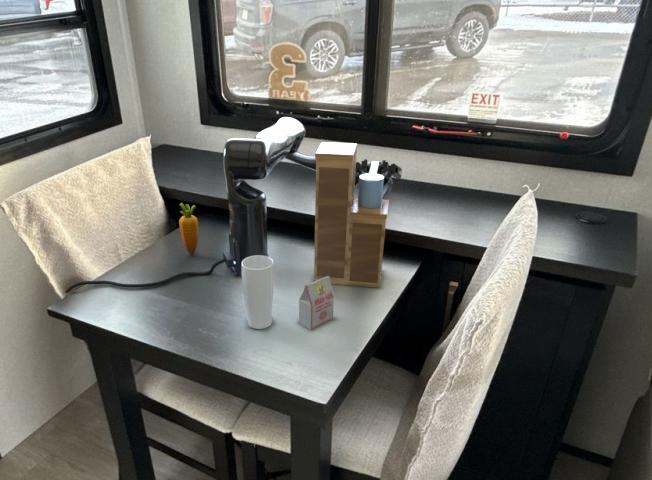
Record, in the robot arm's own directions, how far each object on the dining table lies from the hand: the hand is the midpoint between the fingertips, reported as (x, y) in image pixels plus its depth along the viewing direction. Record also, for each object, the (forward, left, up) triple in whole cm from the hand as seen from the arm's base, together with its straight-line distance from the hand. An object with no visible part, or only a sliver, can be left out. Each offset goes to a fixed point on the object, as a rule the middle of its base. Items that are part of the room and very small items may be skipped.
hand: (374, 163), depth 133 cm
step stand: (-9, -8, -26) cm, 28 cm away
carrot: (-44, +18, -26) cm, 54 cm away
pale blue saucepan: (-2, -3, -7) cm, 8 cm away
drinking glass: (-36, -21, -26) cm, 49 cm away
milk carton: (-24, -24, -26) cm, 43 cm away
